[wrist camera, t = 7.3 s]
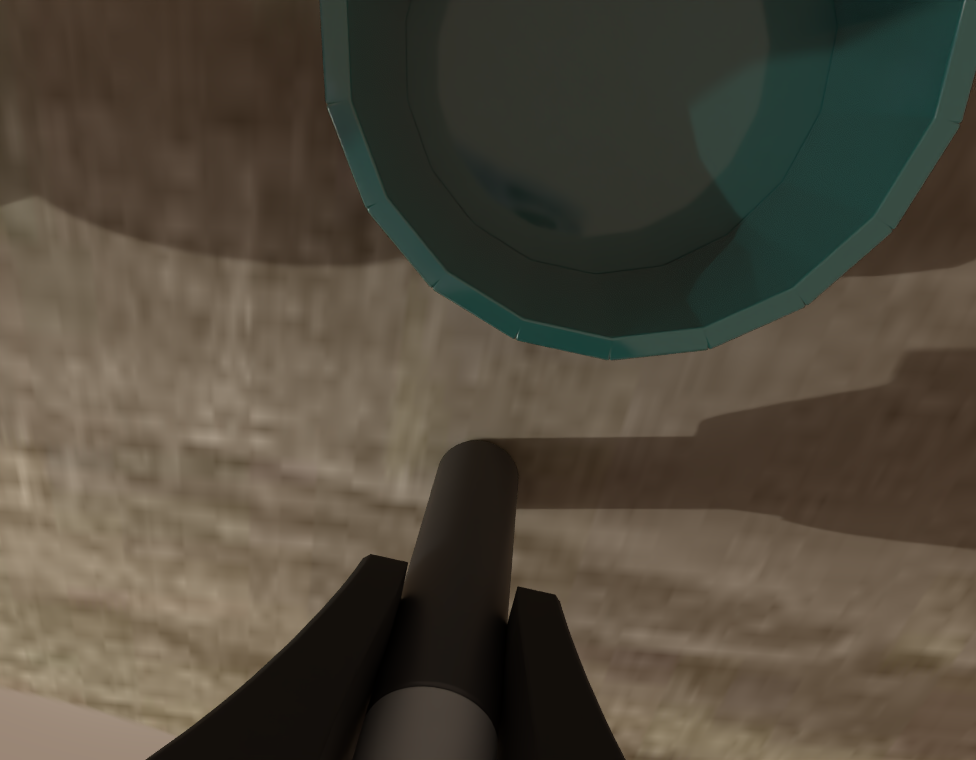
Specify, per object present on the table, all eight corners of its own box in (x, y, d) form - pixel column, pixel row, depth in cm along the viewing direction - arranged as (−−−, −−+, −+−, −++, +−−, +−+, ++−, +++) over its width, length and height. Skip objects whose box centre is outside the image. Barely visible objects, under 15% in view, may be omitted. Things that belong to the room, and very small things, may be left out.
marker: (471, 522, 16) (403, 911, 8) (421, 467, 15) (300, 823, 8) (534, 483, 15) (522, 858, 8) (484, 424, 15) (419, 762, 7)
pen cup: (658, 355, 14) (701, 455, 10) (317, 140, 13) (218, 159, 9) (950, -20, 11) (1163, -81, 7) (544, -334, 10) (542, -600, 6)
